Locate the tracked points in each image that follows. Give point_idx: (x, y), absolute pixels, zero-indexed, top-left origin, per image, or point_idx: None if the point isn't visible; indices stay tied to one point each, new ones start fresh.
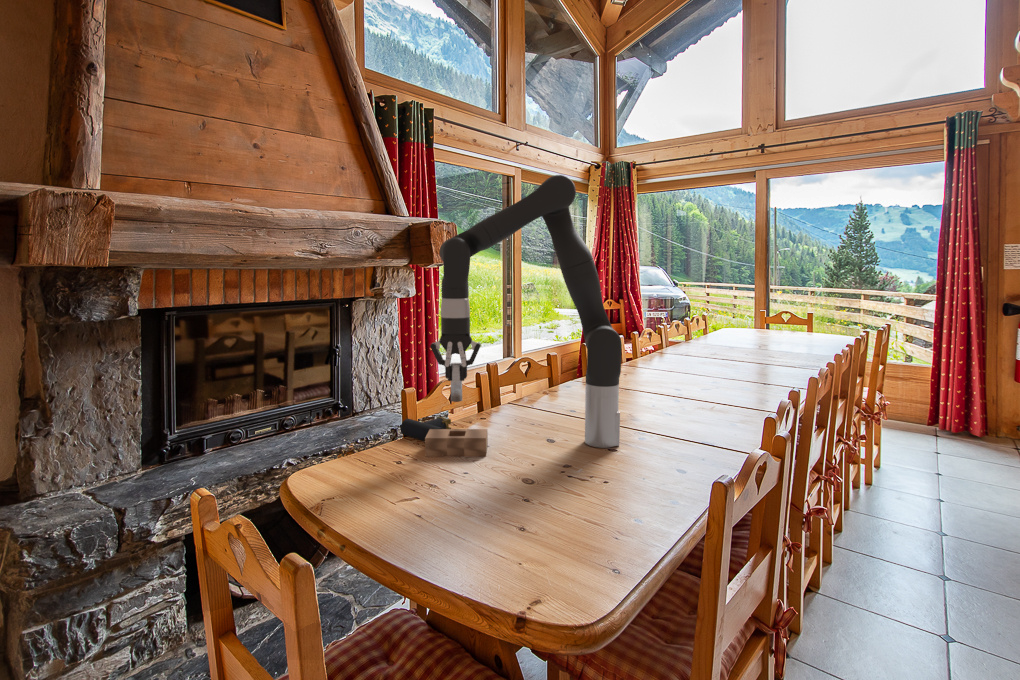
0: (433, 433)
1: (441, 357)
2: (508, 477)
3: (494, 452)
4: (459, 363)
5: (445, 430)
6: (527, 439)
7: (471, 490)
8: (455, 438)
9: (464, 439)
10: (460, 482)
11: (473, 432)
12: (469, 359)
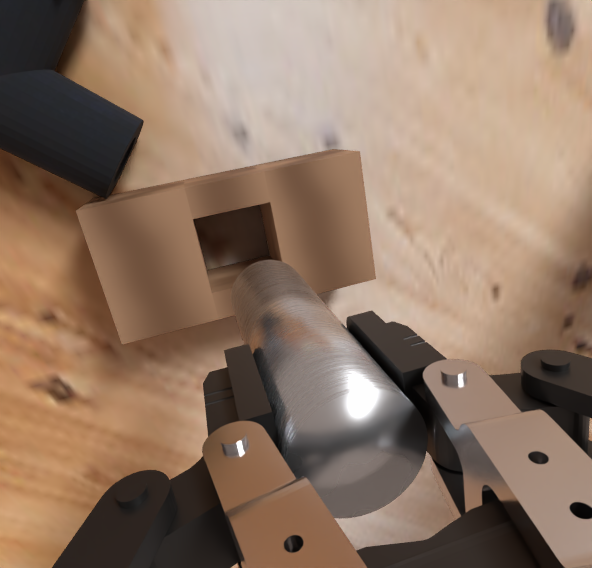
0: (129, 273)
1: (141, 565)
2: None
3: (369, 210)
4: (397, 433)
5: (168, 214)
6: (475, 19)
7: None
8: None
9: None
10: None
11: (309, 216)
12: (549, 412)
